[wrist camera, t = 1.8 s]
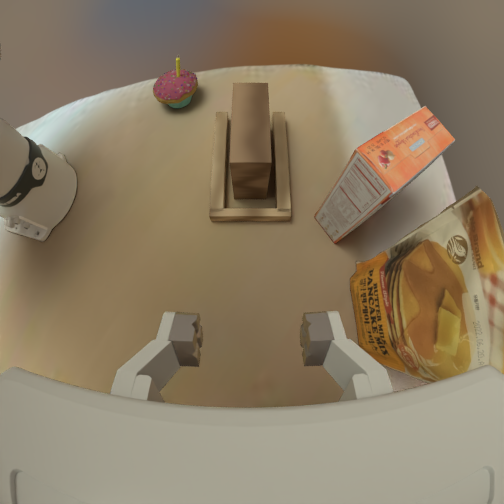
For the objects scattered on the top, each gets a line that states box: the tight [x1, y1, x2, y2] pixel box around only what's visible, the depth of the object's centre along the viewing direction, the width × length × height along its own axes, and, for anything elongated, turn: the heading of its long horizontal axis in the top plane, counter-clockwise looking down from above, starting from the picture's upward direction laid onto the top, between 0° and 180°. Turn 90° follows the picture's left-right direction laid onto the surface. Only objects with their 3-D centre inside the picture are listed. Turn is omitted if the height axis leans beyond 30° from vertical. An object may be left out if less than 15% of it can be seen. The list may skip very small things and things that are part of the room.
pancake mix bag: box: [350, 186, 504, 383], centre depth 27 cm, size 7×19×28 cm, turn 9°
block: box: [230, 83, 271, 199], centre depth 39 cm, size 5×14×12 cm, turn 0°
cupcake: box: [153, 55, 198, 108], centre depth 42 cm, size 9×8×12 cm
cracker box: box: [314, 106, 455, 244], centre depth 34 cm, size 14×6×21 cm, turn 126°
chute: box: [209, 112, 291, 221], centre depth 44 cm, size 12×20×2 cm, turn 0°
